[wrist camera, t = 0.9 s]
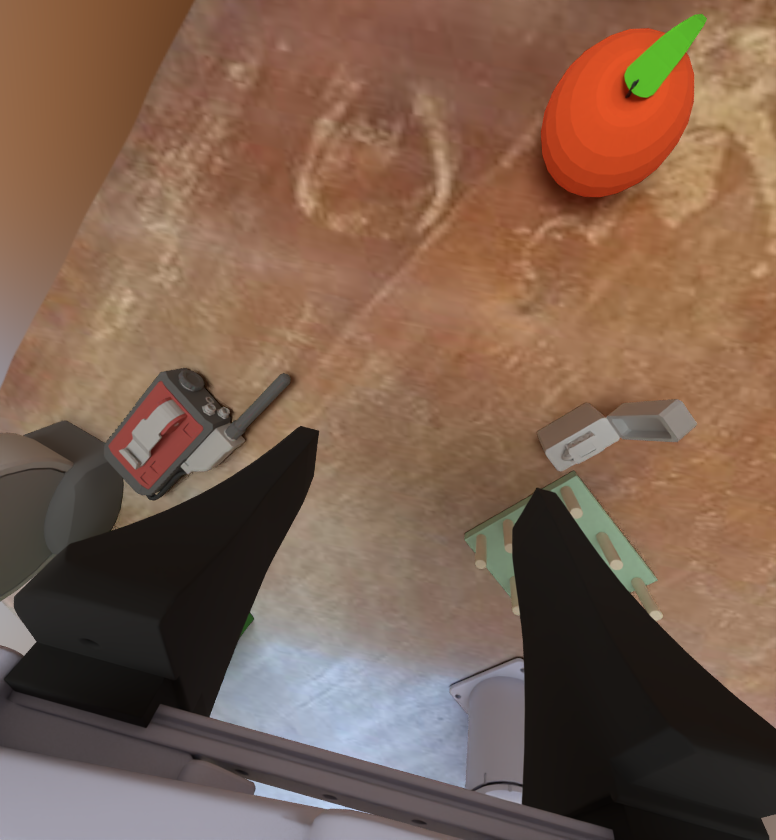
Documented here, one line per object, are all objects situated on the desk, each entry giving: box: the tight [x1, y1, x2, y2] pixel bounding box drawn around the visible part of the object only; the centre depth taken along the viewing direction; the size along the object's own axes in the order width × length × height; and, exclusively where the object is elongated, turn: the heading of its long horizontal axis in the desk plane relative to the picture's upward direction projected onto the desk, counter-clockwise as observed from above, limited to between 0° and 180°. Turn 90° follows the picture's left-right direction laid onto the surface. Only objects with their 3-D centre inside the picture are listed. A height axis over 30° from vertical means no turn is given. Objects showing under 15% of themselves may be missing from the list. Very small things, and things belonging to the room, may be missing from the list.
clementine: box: [541, 14, 707, 197], centre depth 20 cm, size 8×7×7 cm
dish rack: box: [464, 471, 663, 621], centre depth 29 cm, size 10×10×4 cm
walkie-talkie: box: [104, 368, 291, 500], centre depth 34 cm, size 9×4×20 cm
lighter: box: [537, 399, 697, 471], centre depth 24 cm, size 7×2×8 cm, turn 128°
